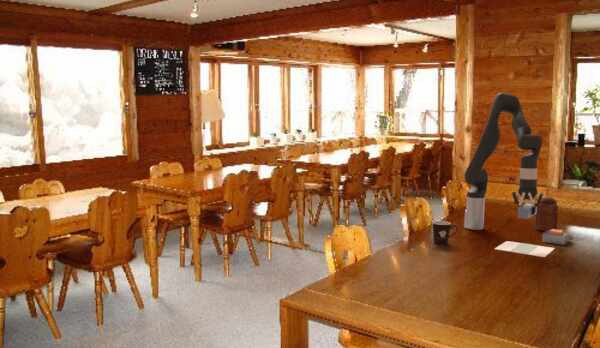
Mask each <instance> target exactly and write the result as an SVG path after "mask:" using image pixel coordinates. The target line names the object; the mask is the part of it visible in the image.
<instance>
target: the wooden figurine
mask: <svg viewBox="0 0 600 348" xmlns="http://www.w3.org/2000/svg"><path fill="white" fill-rule="evenodd" d="M557 203H558V202H557V200H556V199H555V198H553V197H551V196H550V197H549V196H545V197H544V196H543V199H542V201H541V204H540V205H539V206H537V209H536V214H535V215H534V216H535V217H534V219H535V220H534V229H535V230H537V231H544V232H546V231H547V230H551V229H556V230H558V223H559V222H558V220H559V219H558V218H559V217H558V215H559V206H558V204H557Z"/></svg>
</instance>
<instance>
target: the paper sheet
mask: <svg viewBox="0 0 600 348" xmlns="http://www.w3.org/2000/svg"><path fill="white" fill-rule="evenodd" d="M555 249H556V248H555V247H551V246H550V247H549V246H543V245H538V244H532V243H523V242H515V241H510V240H506V241H504V242H503V243H501V244H500V245H498V246H497V247H495V248H494V250H497V251H503V252H509V253H514V254H521V255H529V256H532V257H533V256H534V257H541V258H546V257H548V255H550V254H551V253H552V252H553V251H554V250H555Z"/></svg>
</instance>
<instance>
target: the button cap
mask: <svg viewBox="0 0 600 348" xmlns="http://www.w3.org/2000/svg"><path fill="white" fill-rule="evenodd" d="M563 232H564V230H563V229H557V230H556V229H551V230H550V234H555V235H562V234H563Z"/></svg>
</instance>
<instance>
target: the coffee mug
mask: <svg viewBox="0 0 600 348" xmlns="http://www.w3.org/2000/svg"><path fill="white" fill-rule="evenodd" d="M431 224H432V233H433V235H432V237H433V243H434V244H435V245H439V246H440V245H442V246H443V245H448V244H449V239H450V238H452V237H453V236H454V235H455V234H457V233H458V231H459V227H458V225H454V224H453V225H451V222H449V221H447V220H446V221H445V220H444V221H443V220H436V221H435V220H433V221H432V222H431ZM453 227H455V228H456V231H455V232H453V233H452V234H450V230H451V229H452V228H453Z"/></svg>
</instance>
